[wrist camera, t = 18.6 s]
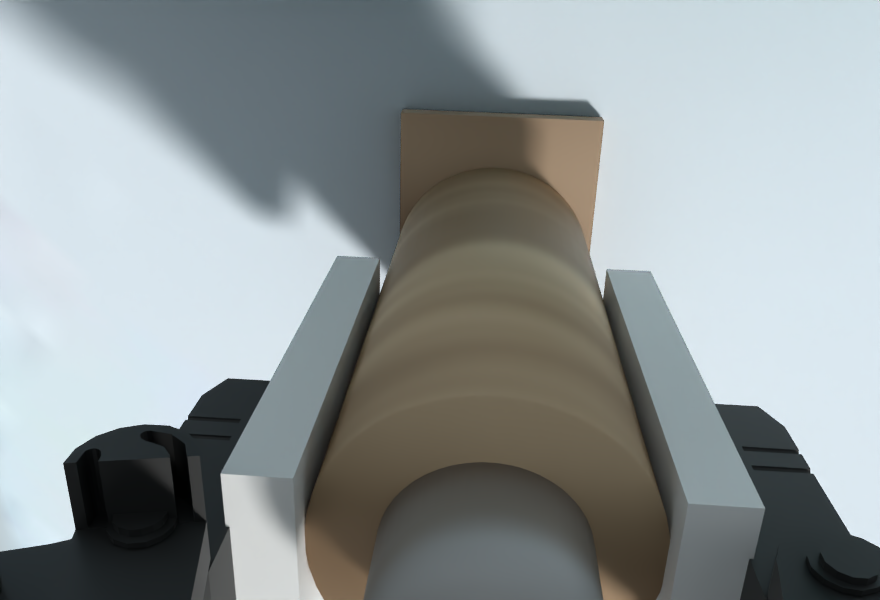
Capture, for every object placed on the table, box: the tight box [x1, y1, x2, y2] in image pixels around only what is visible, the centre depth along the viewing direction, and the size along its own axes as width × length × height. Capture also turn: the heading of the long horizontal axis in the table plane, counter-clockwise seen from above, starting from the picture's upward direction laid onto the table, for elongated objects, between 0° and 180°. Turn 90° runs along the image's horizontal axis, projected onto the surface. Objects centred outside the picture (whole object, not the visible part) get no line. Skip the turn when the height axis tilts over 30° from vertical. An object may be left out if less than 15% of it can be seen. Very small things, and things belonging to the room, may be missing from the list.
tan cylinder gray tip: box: [305, 168, 670, 600], centre depth 12 cm, size 4×4×11 cm
